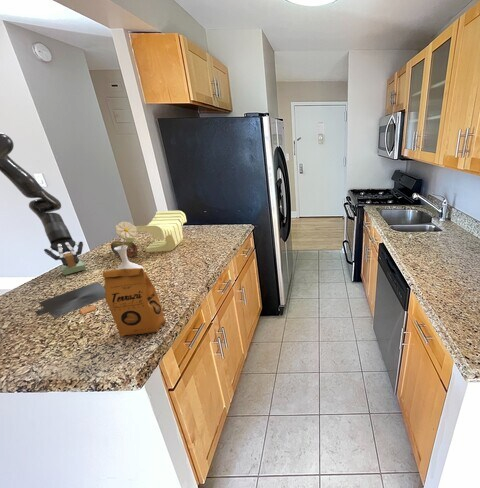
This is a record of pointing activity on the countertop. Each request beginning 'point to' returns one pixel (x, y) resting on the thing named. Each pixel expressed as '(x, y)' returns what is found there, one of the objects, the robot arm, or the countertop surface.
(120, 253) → the flower in vase
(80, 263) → the scrub brush
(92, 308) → the orange flat rounded piece
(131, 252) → the multicolored arch
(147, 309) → the coffee package
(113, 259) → the countertop surface
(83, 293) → the griddle pan
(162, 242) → the slatted curved stool
